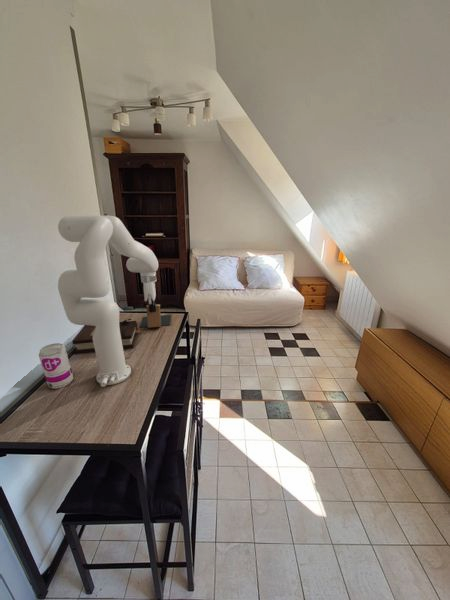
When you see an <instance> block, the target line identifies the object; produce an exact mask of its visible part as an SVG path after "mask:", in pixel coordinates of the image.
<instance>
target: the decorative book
mask: <svg viewBox="0 0 450 600" xmlns="http://www.w3.org/2000/svg"><path fill="white" fill-rule="evenodd" d="M137 322H138V321H137V320H132V318H128V319H124V320H123V321H119V327H120V334H121V340H122V345H123V350H129V349H134V347H135V343H136V340H137V337H138V333H141V331H142V329H141V328H140V329H138V328H139V327H138V323H137ZM95 331H96V326H91V325H83V326H82V327H81V329H80V331H78V332H77V334H76V335H75V336H74V337H73V339H72V341H71V343H72V345H74V346H73V348H75V350H74V354H75V355H80V354H90V353H95V348H94V344H93V334H94V332H95Z"/></svg>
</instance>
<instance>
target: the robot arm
mask: <svg viewBox="0 0 450 600" xmlns="http://www.w3.org/2000/svg"><path fill="white" fill-rule="evenodd" d="M57 229H58V233H59V235H60V236H61V238H63V239H64V240H65V241H67V242H71V243H78V245H77V246H76V249H75V251H74V256H73V257H74V258H73V259H74V263H75V268H76V269H68V270H65V271H63V272H62V273H61V274H60V275H59V278H58V281H57V290H58V294H59V297H60V299H61V303H62V306H63V310H64V312H65V314H66V315H65V316H66V317H67V320H68V321H69V322H70V323H71V324H74V325H77V326H84V325H91V326H96V331H95V332H94V334H93V344H94V348H95V352H94V353H95V357H96V361H97V367H98V373H97V374H96V376H95V378H96V382H97V383H98V384H100V387H102V388H105V387H106V386H113V385H116V384H119V383H121V382H123V381H125V380H127V379H128V378H129V377H130V375H131V374H132V369H131V368H132V367H131V366H130V365H128V364H126V359H125V351H124V349H123V345H122V340H121V334H120V327H119V322H120V312H121V311H120V307H119V305H118V303H116V302H115V301H114V300H110V299H105V298H104V297H106V296H107V295H108V294H109V292H110V282H109V277H108V272H107V269H106V268H107V267H106V264H105V263H106V262H105V258H104V257H105V256H104V255H105V250H106V247H107V245H108V243H109V244H110V245H111V246H112V247H113V249H115V251H116V252H117V253H118V254H119V255H121V256H125V257H127V258H128V259H127V260H126V264H125V267H126V269H127V270H128V271H129V272H131V273H139V274H140V281H141V283H142V285H143V297H144V299H143V300H144V302H148V305H149V312H156V306H155V305H156V301H155V300H156V297H157V293H156V282H157V281H158V280H157V271H158V269H159V260H158V258H157V256H156V255H155V253H154V252H153V250H152V249H151V248H150V247H148V246H146V245H144V244H143V243H141V242H139V241H137V240H135V239H134V238H133V236H132V234H131V233H130V231H129V230H128V229H127V228H126V226H125V224H124V223H123V221H122V220H121V219H120V218H119V217H117V216H115V215H66V216H63V217H61V219H60V220H59V221H58V225H57ZM101 298H104V299H101Z"/></svg>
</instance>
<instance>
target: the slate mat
mask: <svg viewBox="0 0 450 600" xmlns="http://www.w3.org/2000/svg"><path fill="white" fill-rule="evenodd" d="M167 326H171V314H163V315H161V327H167ZM139 327H140V329H141V328H148V321H147V316H143V318H142V321H141V324H140V326H139Z"/></svg>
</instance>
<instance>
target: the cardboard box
mask: <svg viewBox="0 0 450 600" xmlns="http://www.w3.org/2000/svg"><path fill="white" fill-rule="evenodd" d="M155 306H156V312H149V304H146V317H147V321H148V327H147V328H160V327H162V326H161V316H162V315H161V314H162V313H161V304H159V303H158V304H155Z"/></svg>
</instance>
